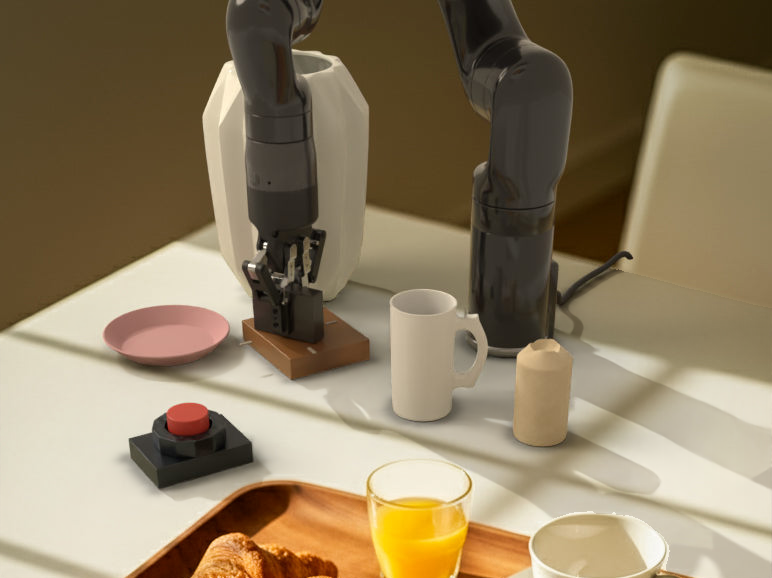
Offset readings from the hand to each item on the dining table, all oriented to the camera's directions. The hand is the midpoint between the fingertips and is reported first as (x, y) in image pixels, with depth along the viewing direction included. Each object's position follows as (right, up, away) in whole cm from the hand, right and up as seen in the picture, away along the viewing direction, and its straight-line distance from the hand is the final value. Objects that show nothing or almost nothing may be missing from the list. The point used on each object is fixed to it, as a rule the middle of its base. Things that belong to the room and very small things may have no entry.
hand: (289, 328), depth 151 cm
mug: (+17, -10, -9) cm, 21 cm away
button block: (-8, -16, -19) cm, 26 cm away
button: (-8, -13, -21) cm, 26 cm away
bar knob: (0, 0, 0) cm, 1 cm away
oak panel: (0, -2, +2) cm, 3 cm away
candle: (+27, -13, -14) cm, 33 cm away
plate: (-14, -2, +3) cm, 15 cm away
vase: (-1, +7, +17) cm, 19 cm away
